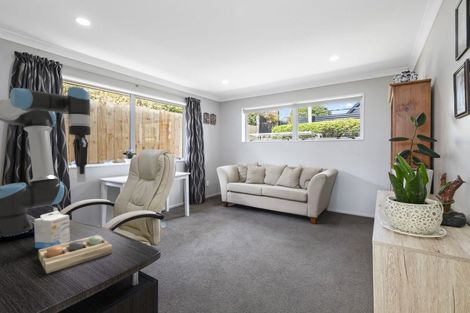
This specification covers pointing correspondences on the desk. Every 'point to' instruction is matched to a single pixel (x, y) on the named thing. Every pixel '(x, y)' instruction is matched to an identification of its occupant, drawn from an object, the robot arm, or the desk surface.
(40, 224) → the ink box
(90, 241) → the sage button
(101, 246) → the panel
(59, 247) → the orange button
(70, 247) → the charcoal button
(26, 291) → the desk surface
